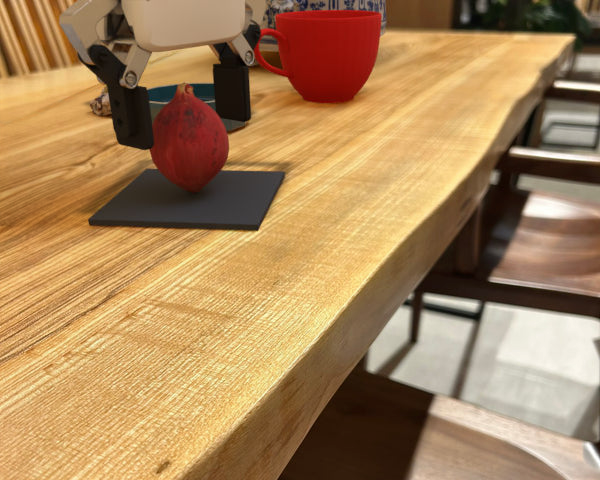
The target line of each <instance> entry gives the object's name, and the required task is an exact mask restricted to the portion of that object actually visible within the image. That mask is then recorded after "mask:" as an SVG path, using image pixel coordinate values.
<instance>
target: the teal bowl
mask: <svg viewBox="0 0 600 480" xmlns="http://www.w3.org/2000/svg"><path fill="white" fill-rule="evenodd" d="M186 83H187V84H189V85H190V86H192V87H193V94H194V96H195V97H196V98H198V99H200V100H202V101H203V102H205V103H206V104H208V105H209V106H210V107H211V108H212V109H213V110H214V111H215V112H216V108H215V95H214V82H186ZM180 84H181V83H171V84H163V85H157V86H151V87H146V88H147V91H148V95H149V103H150V111H151V119H152V124H153V122H154V119H155V118H156V116H157V114H158V113H159V112H160V110H161V109H162V108H163V107H164V106H165V105H166V104H167V103H169V102H170V101H171V100H172V99H173V98H174V96H175V93H176V90H177V86H178V85H180ZM220 119H221V121H222V122H223V124H224V126H225V128H226V132H227V133H228V132H230V131H234V130H236V129H239V128H241V127H244V126H246V125H247V124H248V123H249V121H246V122H241V121H235V120H229V119H223V118H220Z"/></svg>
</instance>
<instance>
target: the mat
mask: <svg viewBox="0 0 600 480" xmlns="http://www.w3.org/2000/svg"><path fill="white" fill-rule="evenodd" d="M285 177H286V172H285V171H283V170H281V171H277V170H270V171H269V170H238V169H237V170H236V169H235V170H233V169H232V170H231V169H221V170H220V172H219V173H218V174H217V175H216V176H215V177H214V178H213V179H212V180H211V181H210V182H209V183H208V184H207V185H205V186H204V187H203V188H202V190H201V191H199V192H196V193H189V192H187V191H186V190H184V189H182V188H180V187H178V186H176V185H175V184H173V183H172V182H170V181H169V180H168V179H167V178H166V177H165V176H164V175H163V174H162V173H160V172H159V170H158V169H157V168H145V169H144V170H143V171H142V172H141V173H139V174H138V175H137V176H136V177H135V178H134V179H133V180H131V181H130V182H129V183H128V184H127V185H126V186H124V187H123V188H122V189H121V190H120V191H119V192H117V193H116V194H115V195H114V196H113V197H112V198H111V199H110V200H108V201H107V202H106V203H105V204H103V206H101V207H100V208H99V209H98V210H97V211H95V212H94V213H93V214H92V215H91V216H89V218H88V219H87V221H88V225H89V226H92V227H93V226H94V227H96V226H98V227H128V228H153V229H154V228H156V229H157V228H158V229H186V230H215V231H216V230H217V231H245V232H247V231H250V232H258V231H259V230H260V228H261V226H262V224H263V222H264V220H265V218H266V216H267V214H268V212H269V210H270V208H271V206H272V204H273V202H274V200H275V198H276V196H277V194H278V191H279V190H280V188H281V186H282V184H283V182H284V180H285Z"/></svg>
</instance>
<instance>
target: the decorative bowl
mask: <svg viewBox="0 0 600 480" xmlns="http://www.w3.org/2000/svg"><path fill="white" fill-rule="evenodd" d="M386 3H387V2H386V0H266V4H267V5H266V10H265V14H264V18H263V21H262V25H261V26H260V29H266V28H269V29H274V30H276V22H275V15H277V14H280V13H287V12H298V11H316V10H361V11H374V12H379V13H381V16H382V20H381V32H380V38H381V37H383V36H384V35H385V34H386V31H387V30H386V28H387V8H386V7H387V6H386ZM259 50H260V51H265V52H275V53H276V52H277V53H279V49H278V42H277V40H276V39H275V38H274V37H273V36H271V35H265V36H263V37H262V38H261V40H260V43H259ZM259 65H260V64H259V63H258V62H257V60H256V59H255V58H254V62H253V64H252V65H250V66H247V67H254V66H259Z"/></svg>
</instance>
